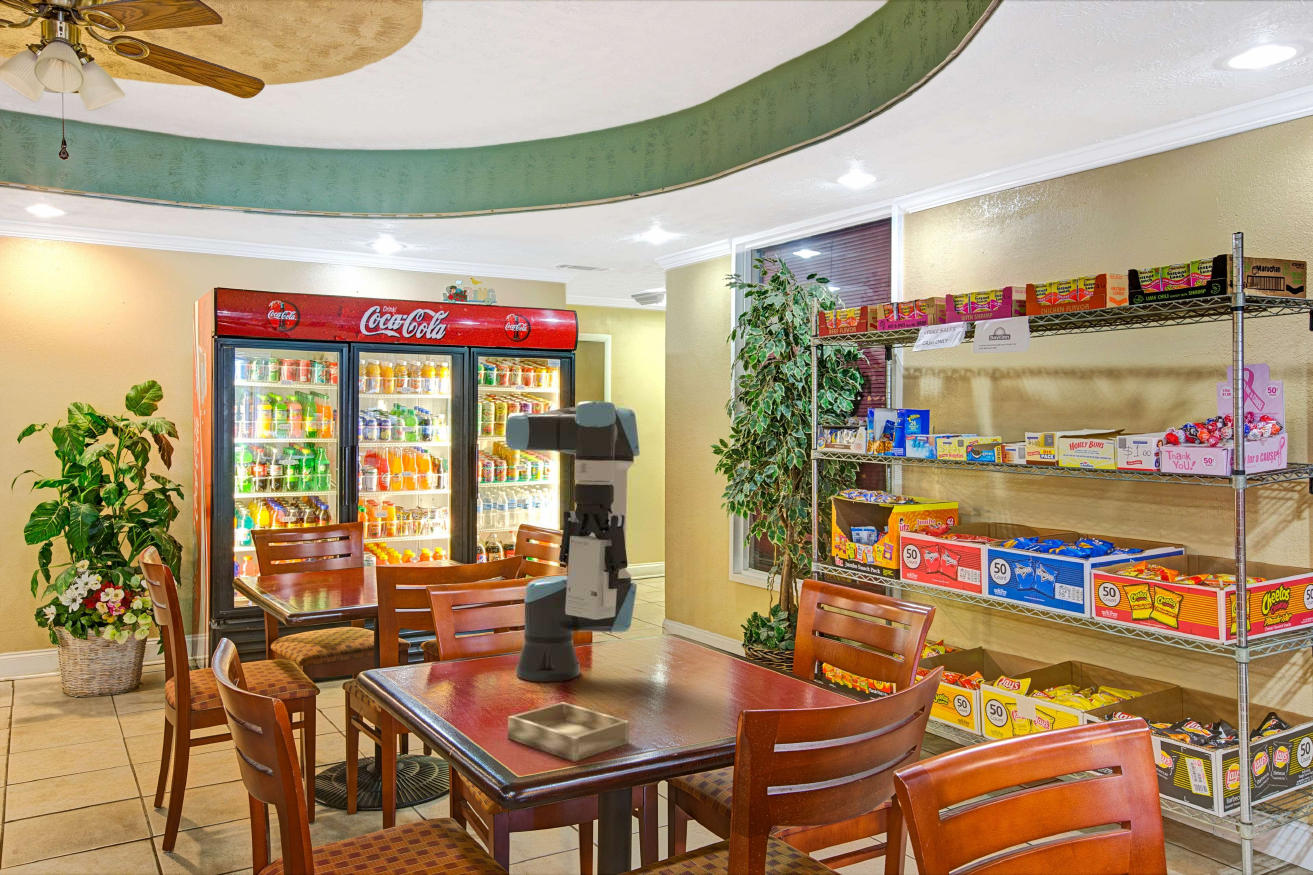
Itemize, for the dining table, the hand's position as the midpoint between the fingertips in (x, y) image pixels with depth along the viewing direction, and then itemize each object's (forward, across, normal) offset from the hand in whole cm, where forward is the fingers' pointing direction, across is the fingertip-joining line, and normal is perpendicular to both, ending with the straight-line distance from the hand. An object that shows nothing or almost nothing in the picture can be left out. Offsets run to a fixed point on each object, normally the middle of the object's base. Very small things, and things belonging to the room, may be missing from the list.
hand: (591, 603), depth 168 cm
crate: (+25, -2, -4) cm, 26 cm away
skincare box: (+3, 0, 0) cm, 3 cm away
